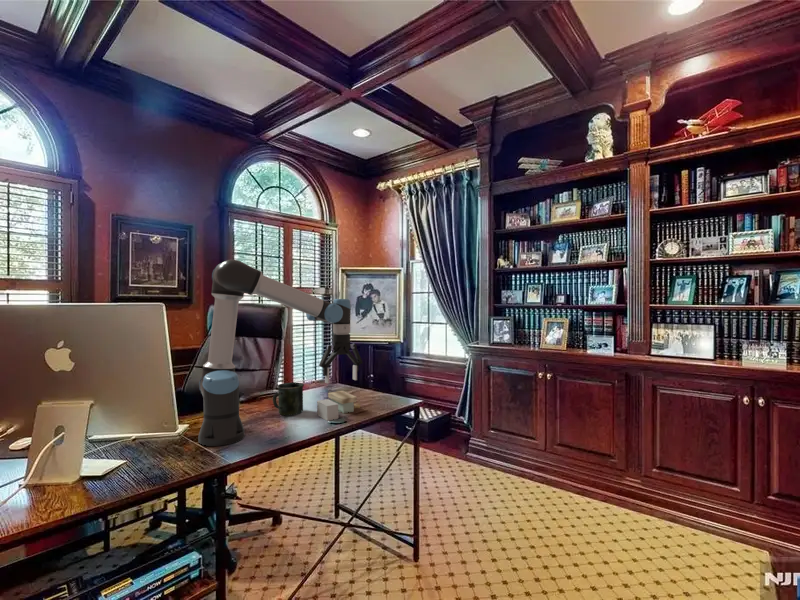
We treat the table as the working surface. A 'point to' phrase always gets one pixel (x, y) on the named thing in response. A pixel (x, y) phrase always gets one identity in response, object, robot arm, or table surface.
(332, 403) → the light grey rectangular block
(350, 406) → the dish
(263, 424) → the table surface
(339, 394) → the lid
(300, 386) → the mug
